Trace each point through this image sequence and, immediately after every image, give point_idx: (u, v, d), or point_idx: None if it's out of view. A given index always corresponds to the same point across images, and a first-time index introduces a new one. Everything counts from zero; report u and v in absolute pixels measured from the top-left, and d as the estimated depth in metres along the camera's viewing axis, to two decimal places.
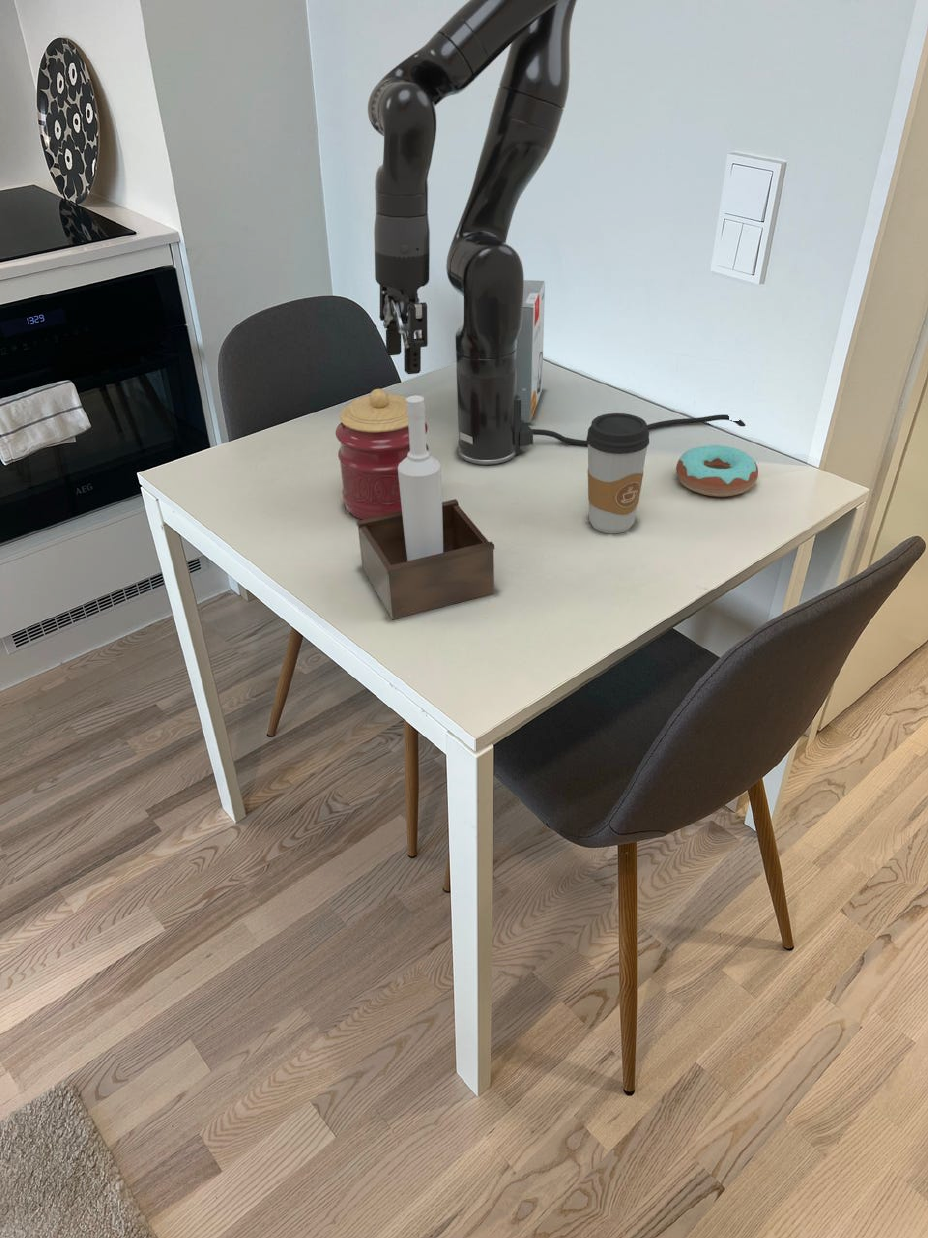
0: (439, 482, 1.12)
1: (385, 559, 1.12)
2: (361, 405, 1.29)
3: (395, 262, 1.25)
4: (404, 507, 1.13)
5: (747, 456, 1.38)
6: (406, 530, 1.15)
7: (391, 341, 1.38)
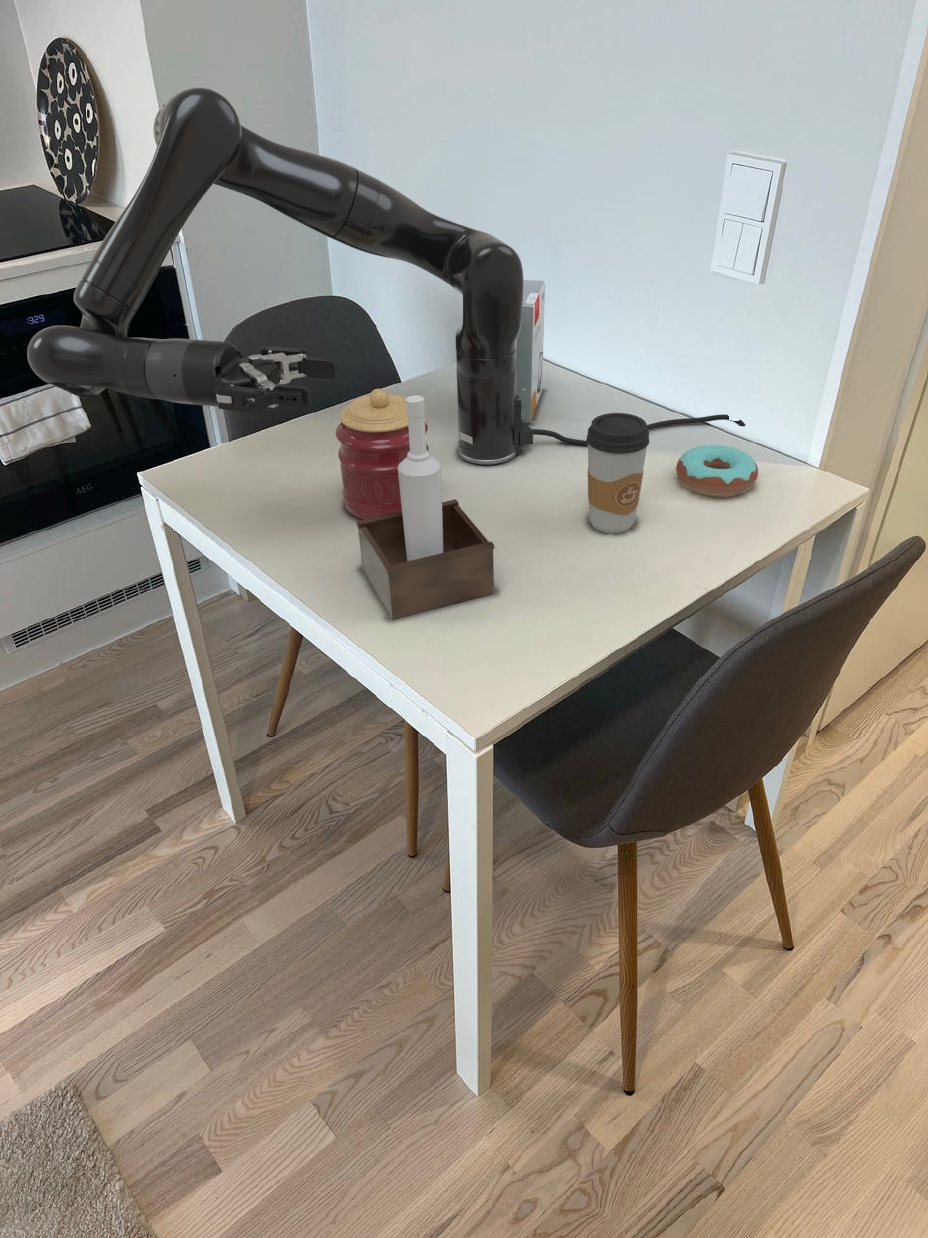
0: (439, 482, 1.12)
1: (385, 559, 1.12)
2: (361, 405, 1.29)
3: (194, 399, 1.09)
4: (404, 507, 1.13)
5: (747, 456, 1.38)
6: (406, 530, 1.15)
7: (318, 372, 1.11)
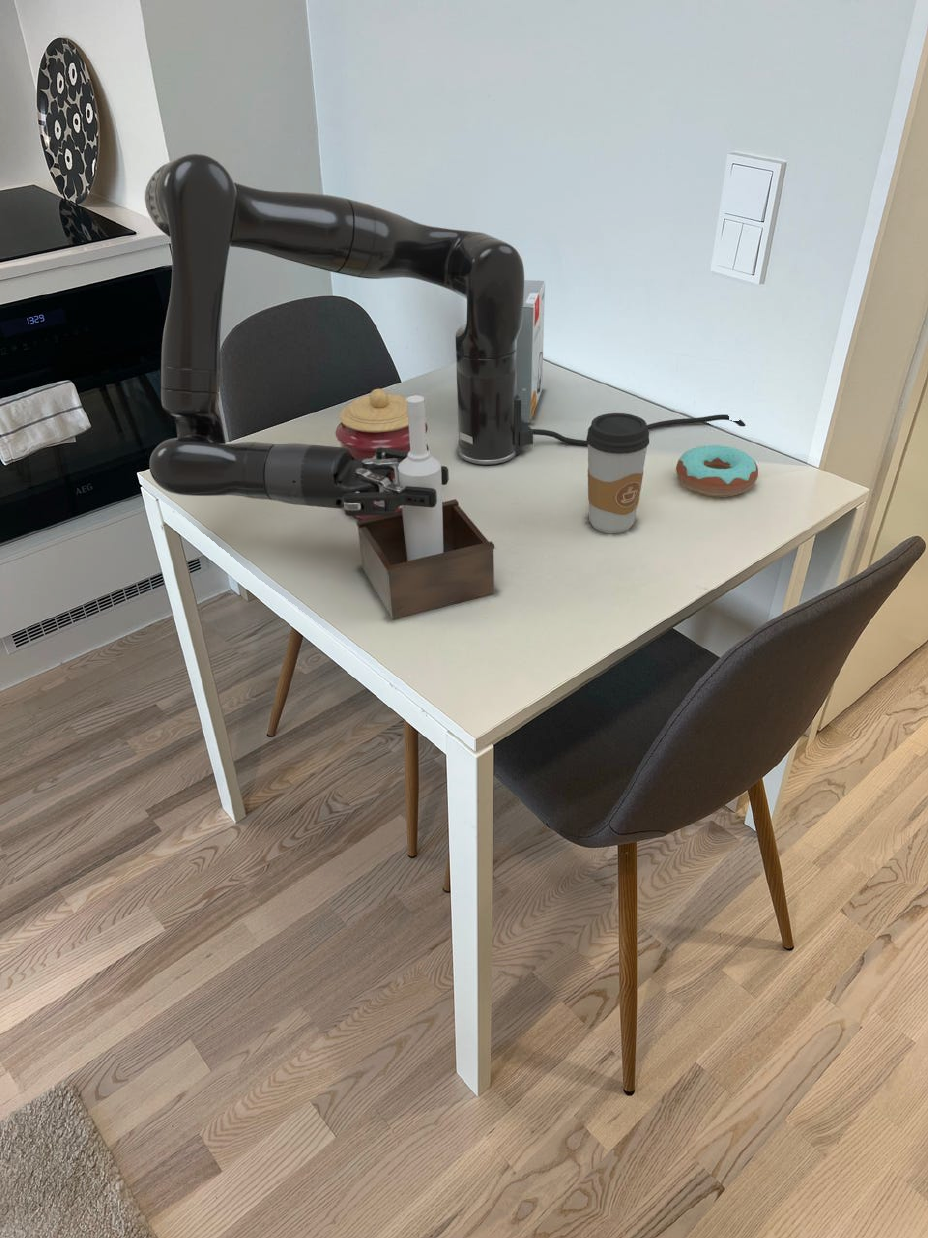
0: (439, 482, 1.12)
1: (385, 559, 1.12)
2: (361, 405, 1.29)
3: (311, 502, 1.14)
4: (404, 507, 1.13)
5: (747, 456, 1.38)
6: (406, 530, 1.15)
7: None
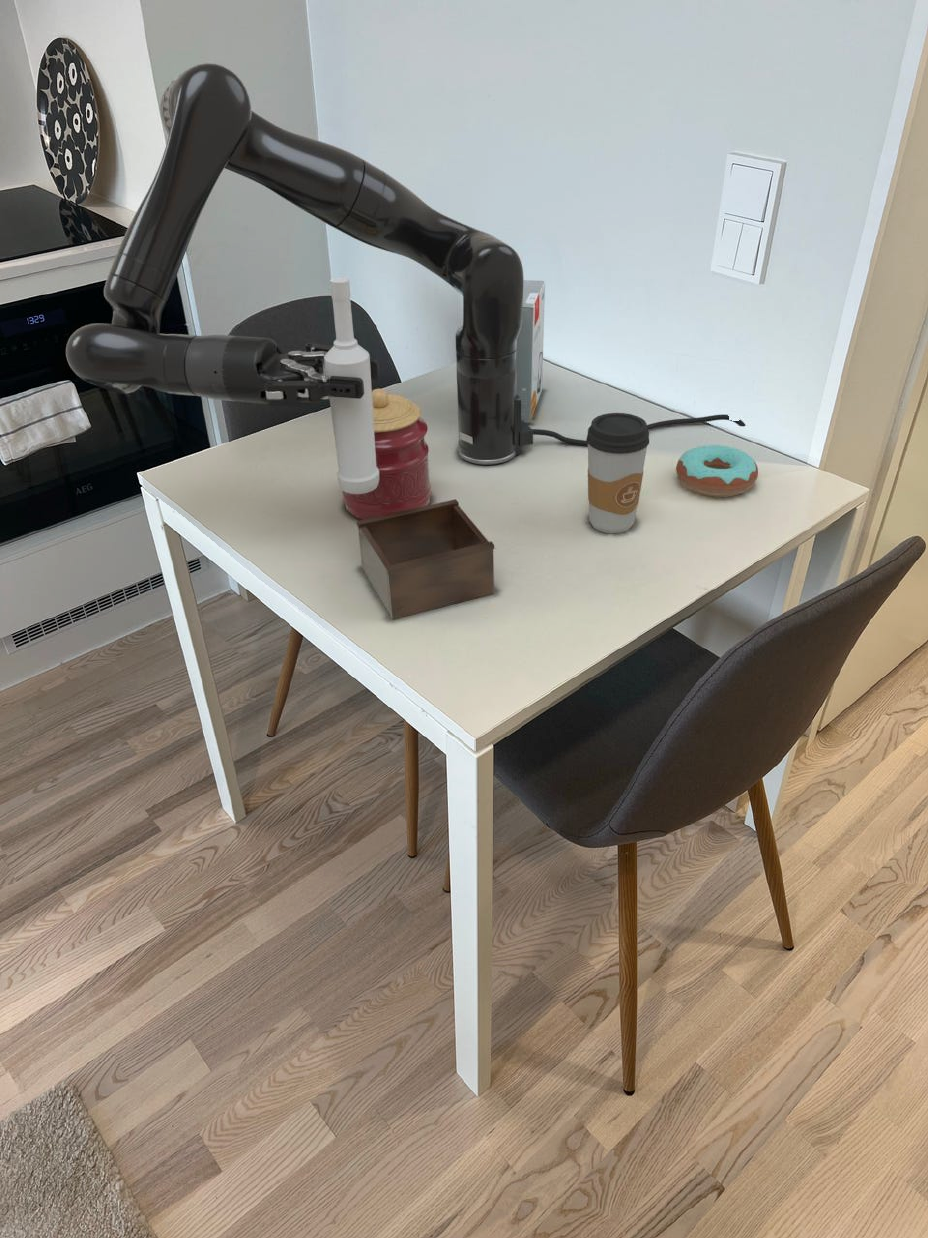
0: (368, 373, 1.06)
1: (385, 559, 1.12)
2: None
3: (234, 396, 1.09)
4: (332, 400, 1.08)
5: (747, 456, 1.38)
6: (335, 426, 1.10)
7: None
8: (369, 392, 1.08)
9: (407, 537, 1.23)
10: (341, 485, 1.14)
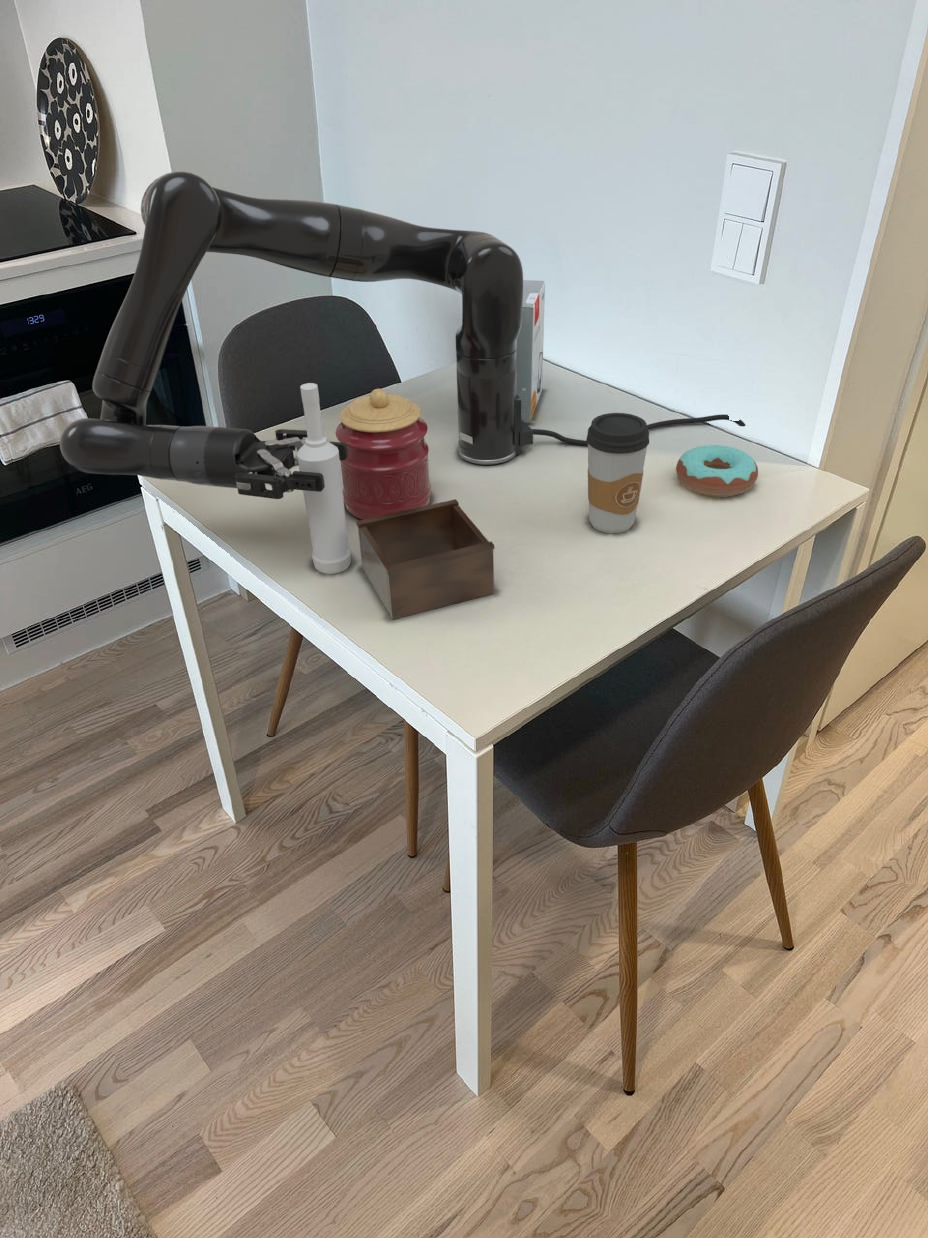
0: (337, 467, 1.15)
1: (385, 559, 1.12)
2: (361, 405, 1.29)
3: (215, 483, 1.18)
4: (304, 491, 1.17)
5: (747, 456, 1.38)
6: (308, 514, 1.19)
7: None
8: (339, 484, 1.17)
9: (407, 537, 1.23)
10: (315, 565, 1.23)
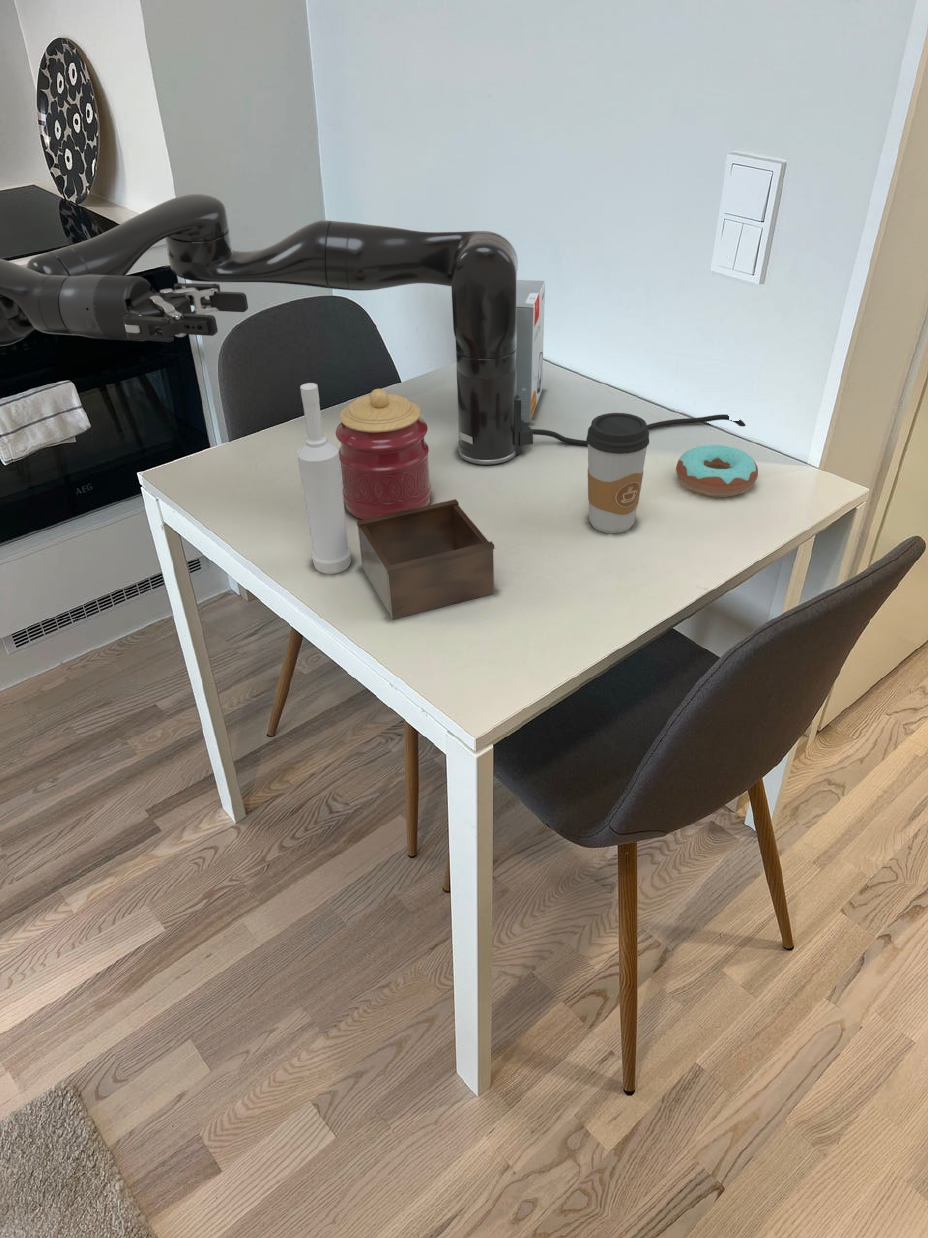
0: (337, 467, 1.15)
1: (385, 559, 1.12)
2: (361, 405, 1.29)
3: (108, 332, 1.13)
4: (304, 491, 1.17)
5: (747, 456, 1.38)
6: (308, 514, 1.19)
7: (230, 306, 1.15)
8: (339, 484, 1.17)
9: (407, 537, 1.23)
10: (315, 565, 1.23)
